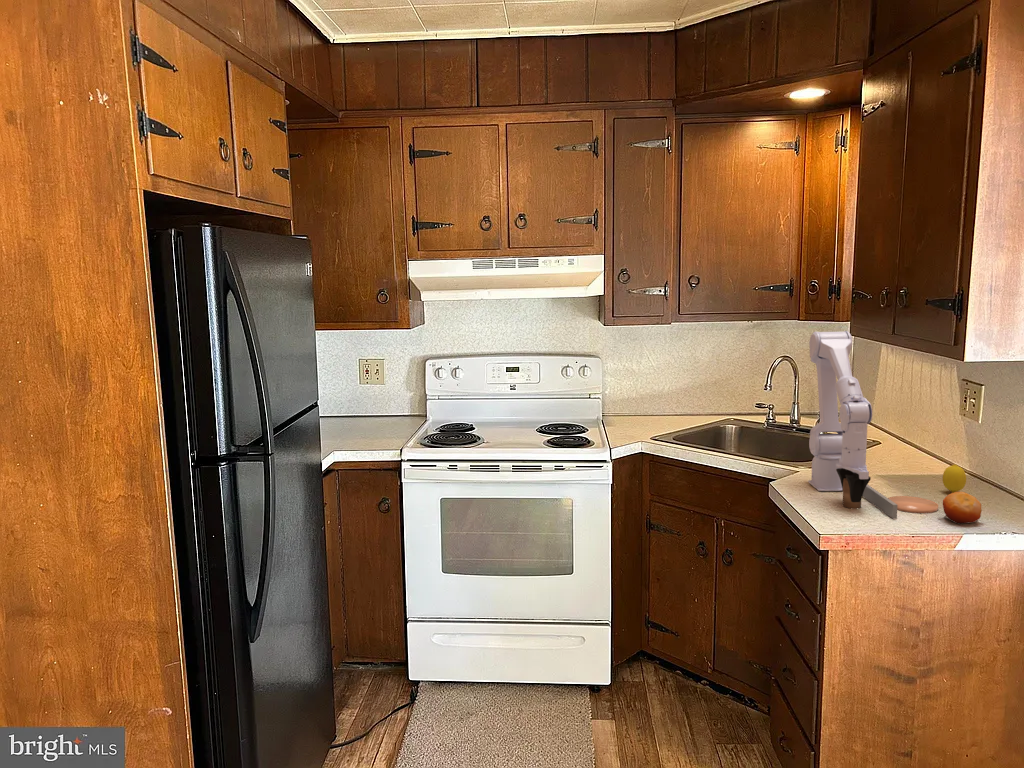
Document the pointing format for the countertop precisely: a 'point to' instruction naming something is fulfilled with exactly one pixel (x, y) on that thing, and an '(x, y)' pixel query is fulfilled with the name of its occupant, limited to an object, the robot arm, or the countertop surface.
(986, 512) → the countertop surface
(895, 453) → the countertop surface
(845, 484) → the walnut cylinder
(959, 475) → the lemon
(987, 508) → the countertop surface
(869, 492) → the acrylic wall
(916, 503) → the saucer
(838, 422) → the robot arm
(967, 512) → the fruit
